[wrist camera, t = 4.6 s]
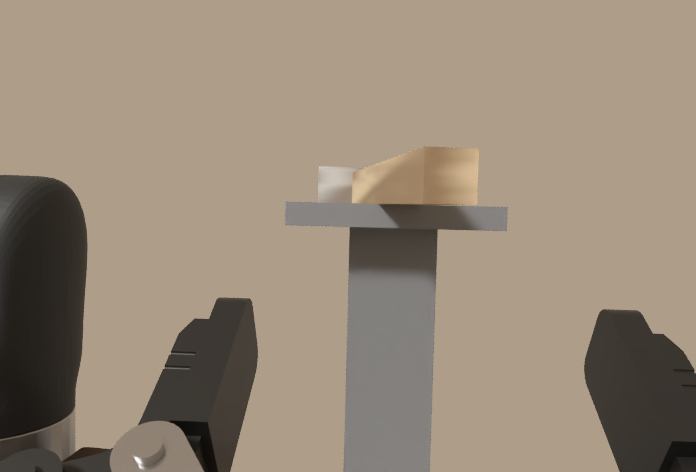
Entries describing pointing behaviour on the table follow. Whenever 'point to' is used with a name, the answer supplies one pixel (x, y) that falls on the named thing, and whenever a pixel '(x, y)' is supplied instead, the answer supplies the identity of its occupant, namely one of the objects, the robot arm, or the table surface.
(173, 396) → the robot arm
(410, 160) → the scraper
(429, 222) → the stand
